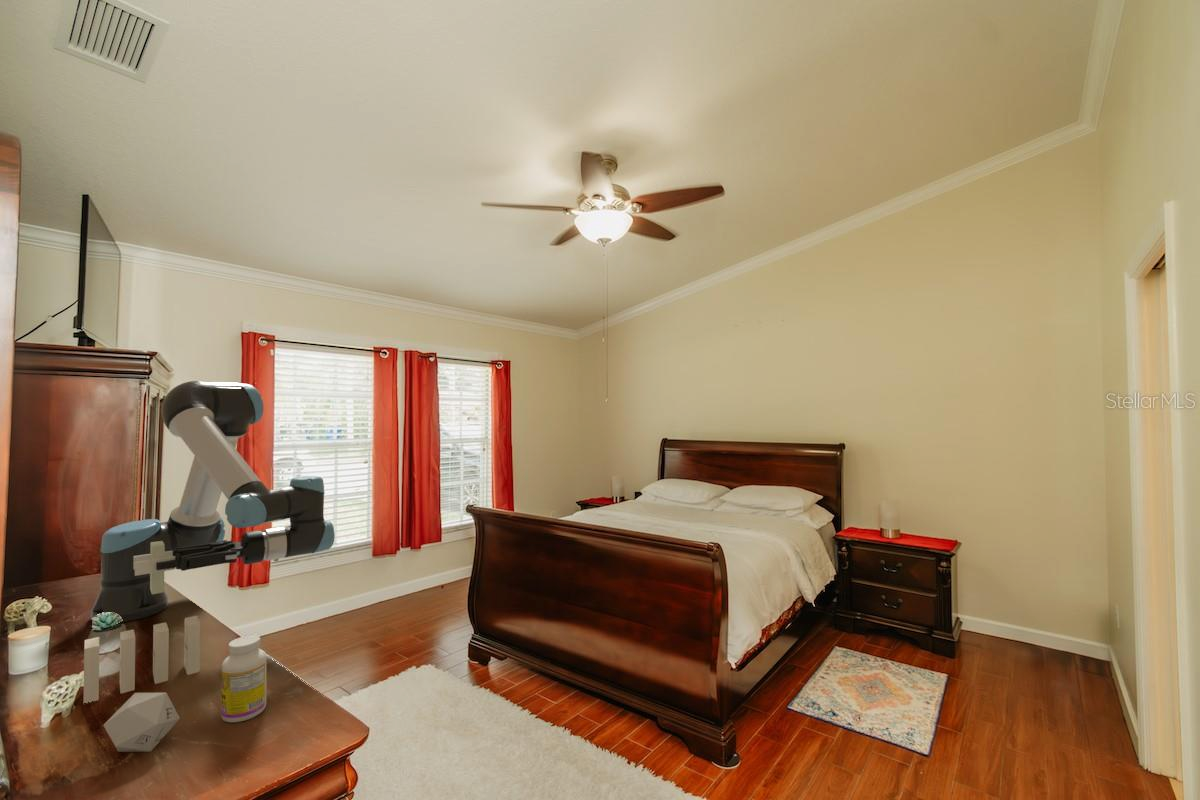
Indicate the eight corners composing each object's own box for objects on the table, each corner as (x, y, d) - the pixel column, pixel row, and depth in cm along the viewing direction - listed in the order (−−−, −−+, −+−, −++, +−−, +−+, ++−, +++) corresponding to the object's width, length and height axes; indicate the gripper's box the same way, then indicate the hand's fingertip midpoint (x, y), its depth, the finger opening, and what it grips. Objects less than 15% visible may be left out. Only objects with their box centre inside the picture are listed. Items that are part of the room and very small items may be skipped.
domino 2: (133, 679, 105) (133, 629, 105) (134, 689, 101) (135, 637, 101) (119, 683, 103) (120, 632, 103) (120, 693, 99) (121, 640, 100)
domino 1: (98, 689, 101) (99, 636, 101) (98, 699, 97) (99, 645, 98) (83, 692, 100) (84, 640, 100) (83, 704, 96) (84, 649, 96)
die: (115, 776, 78) (166, 712, 81) (76, 741, 80) (127, 680, 83) (157, 761, 86) (202, 703, 89) (121, 729, 87) (166, 674, 90)
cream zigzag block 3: (165, 670, 108) (166, 622, 108) (168, 680, 104) (168, 629, 104) (152, 674, 107) (153, 624, 107) (154, 684, 103) (155, 632, 103)
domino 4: (196, 662, 112) (196, 615, 112) (199, 671, 108) (200, 622, 108) (184, 666, 110) (184, 618, 110) (187, 675, 106) (187, 625, 107)
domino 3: (162, 586, 116) (162, 540, 116) (164, 592, 112) (164, 545, 112) (149, 588, 114) (150, 542, 115) (151, 594, 111) (152, 546, 111)
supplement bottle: (227, 706, 95) (228, 635, 95) (270, 699, 97) (270, 630, 98) (215, 728, 89) (216, 651, 89) (261, 719, 91) (261, 645, 91)
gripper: (271, 569, 120) (136, 594, 104) (254, 553, 133) (132, 574, 117) (271, 536, 120) (136, 556, 104) (254, 524, 133) (132, 540, 117)
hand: (134, 565), depth 111 cm, fingers closed on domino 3, 5 cm apart
